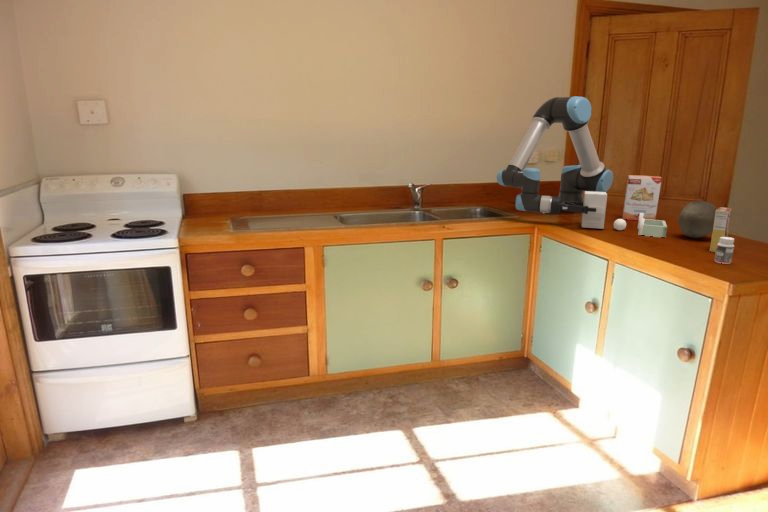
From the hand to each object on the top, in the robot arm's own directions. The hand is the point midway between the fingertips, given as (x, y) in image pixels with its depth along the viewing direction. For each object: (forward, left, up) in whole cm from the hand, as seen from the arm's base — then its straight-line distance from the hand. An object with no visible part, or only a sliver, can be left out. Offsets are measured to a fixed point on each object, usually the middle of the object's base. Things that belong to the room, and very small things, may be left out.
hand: (605, 208), depth 218 cm
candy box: (+22, +40, -9) cm, 46 cm away
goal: (0, +19, -9) cm, 21 cm away
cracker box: (-31, +15, -9) cm, 35 cm away
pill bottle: (+41, +39, -9) cm, 57 cm away
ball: (0, +7, -6) cm, 9 cm away
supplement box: (0, -4, -8) cm, 10 cm away
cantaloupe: (+3, +35, -9) cm, 36 cm away
